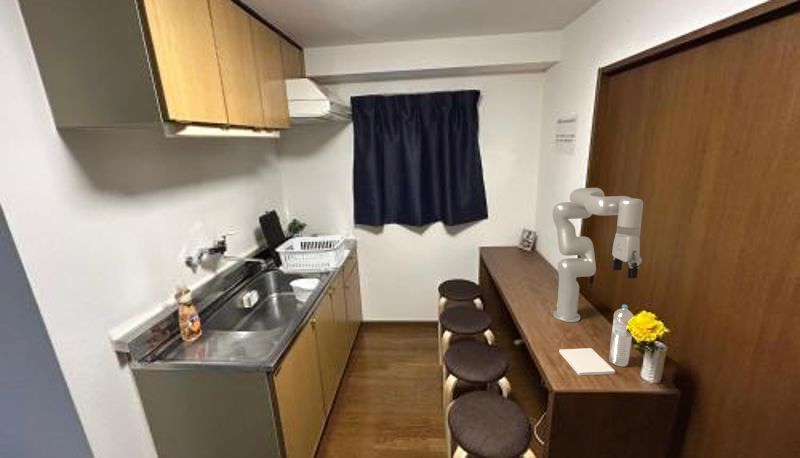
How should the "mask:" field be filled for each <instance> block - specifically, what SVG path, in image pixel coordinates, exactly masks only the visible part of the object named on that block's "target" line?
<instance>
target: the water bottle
mask: <svg viewBox="0 0 800 458" xmlns="http://www.w3.org/2000/svg"><path fill="white" fill-rule="evenodd" d="M628 308H629V306H628V305H627V304H622V305H621V308H619V309H618V308H617V310H615V311H614V313H613V315H612V316H613V321H612V330H611V336H610V345H609V354H608V361H609V362H610V363H611V364H612V365H615V366H616V367H619V368H620V367H621V368H623V367H627V366H628V365H629V362H630V354H631V348H632V338H633V335H632V336H631V335H630V333H629V332H628V331H627V329H626V326H627V323H628V321H629V320H630V319H631V318H632V317H634V318H635V316H634V314H633V313H632V312H631V311H630V310H629V309H628Z"/></svg>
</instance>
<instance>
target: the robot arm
mask: <svg viewBox="0 0 800 458" xmlns="http://www.w3.org/2000/svg"><path fill="white" fill-rule="evenodd" d="M569 200H570V201H565V202H559V203H557V204H555V205H554V207H553V208H552V219H553V223H554V225H555V227H556V232H557V241H558V242H557V243H558V250H559V253H560V254H561V255H562V256H565V257H566V256H568V258H564V259H561V260H559V262H558V263H557V271H558V290H557V291H558V292H557V303H556V304H555V307H557V308H556V310H554V311H553V315H552V316H553V317H554V318H555V319H557V320H559V321H562V322H567V323H576V322H579V321H581V315H580V314H579V313H578V306H579V297H580V296H579V295H580V285H579V282H578V281H577V279H576V278H581V277H583V278H584V277H585V278H586V277H592V276H594V275H595V274H596V272H597V266H596V265H597V264H596V257H595V256H596V255H595V249H594V244H593V240H592V239H591V238H589V237H588V236H577V231H576V227H575V225H574V224H573V223H572V222H571V221H570V220H575V219H576V220H579V219H588V218H590V217H591V216H592V215H596V216H605V217H606V216H617V222H616V233H615V235H614V240H613V245H612V248H611V250H612V253H611V255H612V260H613V263H612V270H613V271H622V268H623V262H624V263H627V264H628V269H627V275H626V277H627V278H628V279H637V278H638V271H639V270H638V269H640V266H641V265H642V262H643V259H642V257H641V255H640V254H641V253H640V252H641V251H640V249H641V241H640V237H641V230H642V218H643V209H644V201H643V199H641V198H632V197H630V196H626V195H618V196H617V195H616V196H615V195H614V196H613V195H612V196H605V192H604V191H603V190H602V189H601V188H599V187H581V188H576V189H574V190H573V191H571V193H570V194H569ZM569 256H580V257H570V258H569Z"/></svg>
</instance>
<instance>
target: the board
mask: <svg viewBox="0 0 800 458" xmlns="http://www.w3.org/2000/svg"><path fill="white" fill-rule="evenodd" d="M558 352H559V354H560V355H561V356H562V358H564V360H565V361H566V362H567V363H568V365H570V367H571V368H572V369H573V370H574V372H575V373H576V374H577V375H578V376H597V375H615V374H616V370H615V369H614V368H613V367H612V366H610V365H609V364H608V362H607V361H606V360H605V359H603V357H601V356H600V355H599V354H598V353H597V352H596V351H595V350H594V349H593V348H590V347H589V348H588V347H587V348H585V347H584V348H564V349H563V348H562V349H560V348H559V351H558Z"/></svg>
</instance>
